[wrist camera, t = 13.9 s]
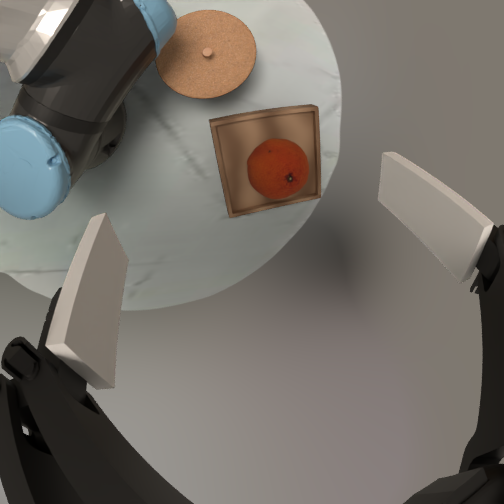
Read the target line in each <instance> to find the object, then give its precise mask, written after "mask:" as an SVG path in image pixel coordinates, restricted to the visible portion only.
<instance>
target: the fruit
mask: <svg viewBox="0 0 504 504" xmlns="http://www.w3.org/2000/svg"><path fill="white" fill-rule="evenodd" d="M247 172H248V179H249V182H250V184H251V185H252V187H253V188H254V189H255V190H256V191H257V192H258V193H260V194H261V195H263V196H265V197H267V198H270V199H282V198H286V197H288V196H290V195H293V194H295V193H296V192H298V191H299V190H300V189H301V188H303V186H304V185H305V184H306V182H307V180H308V174H309V163H308V159H307V156H306V154H305V152H304V151H303V150H302V148H301V147H300V146H298V145H297V144H296V143H294V142H292V141H290V140H287V139H268V140H266V141H264V142H263V143H261V144H260V145H259V146H257V147H256V148H255V149H254V150H253V152H252V153H251V155H250V156H249V158H248V160H247Z"/></svg>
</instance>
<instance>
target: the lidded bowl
mask: <svg viewBox="0 0 504 504" xmlns="http://www.w3.org/2000/svg"><path fill="white" fill-rule="evenodd" d="M255 60H256V44H255V40H254V37H253V35H252V33H251V31H250V30H249V29H248V27H247V26H246V25H245V24H244V23H243V22H242V21H241V20H239V19H238V18H236V17H235V16H233V15H230V14H228V13H225V12H222V11H216V10H201V11H196V12H192V13H189V14H186V15H184V16H182V17H180V18H179V19H177V26H176V30H175V33H174V34H173V36H172V37H171V38H170V39H169V40H168V42H167V43H166V44H165V45H164V47H163V48H162V49H161V51H160V54H159V56H158V57H157V58H156V59H155V62H156V67H157V70H158V73H159V75H160V76H161V78H162V80H163V81H164V82H165V83H166V84H167V85H168V86H169V87H170V88H171V89H172V90H174V91H176V92H177V93H179V94H182V95H184V96H187V97H191V98H198V99H209V98H214V97H218V96H222V95H225V94H227V93H229V92H231V91H232V90H234V89H236V88H237V87H238V86H239V85H241V84H242V83H243V82H244V81H245V80H246V78H247V77H248V76H249V74H250V73H251V71H252V69H253V66H254V64H255Z"/></svg>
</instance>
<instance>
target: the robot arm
mask: <svg viewBox="0 0 504 504" xmlns="http://www.w3.org/2000/svg"><path fill="white" fill-rule="evenodd" d="M176 26H177V18H176V15H175V12H174V10H173V9H172V7H171V6H170V4H169V3H168V2H167V0H0V62H4V63H5V64H6V65H7V68H8V71H9V74H10V77H11V79H12V81H13V82H16V83H21V84H23V85H22V88H21V90H20V92H19V94H18V96H17V99H16V101H15V103H14V106H13V108H12V111H11V113H10V115H9V116H8V117H5V118H4V119H2V120H1V121H0V207H1V208H2V209H3V210H4V211H6V212H7V213H9V214H11V215H12V216H15V217H17V218H20V219H26V220H34V219H36V218H42V217H45V216H47V215H48V214H50V213H51V212H52V211H53V210H54V209H55V208H56V207H57V206H58V205H59V204H60V203H62V202H63V201H64V199H65V198H66V197H67V195H68V193H69V191H70V189H71V188H72V187H73V185H74V184H75V183H76V181H77V180H78V179H79V178H80V176H81V175H82V174H83V173H84V171H85V170H87V169H91V168H94V167H96V166H98V165H100V164H102V163H103V162H104V161H106V160H107V159H108V158H109V157H110V156H111V155H112V154H113V153H114V151H115V150H116V149H117V147H118V146H119V144H120V142H121V141H122V138H123V136H124V133H125V128H126V111H125V107H124V104H123V100H124V98H125V97H126V95H127V94H128V92H129V91H130V90H131V88H132V87H133V85H134V84H135V83H136V81H137V80H138V79H139V77H140V76H141V75H142V73H143V72H144V71H145V69H146V68H147V67H148V66H149V64H150V63H151V62H152V61H153V60H155V59H156V58H157V57H158V56H159V54H160V51H161V49H162V48H163V47H164V45H165V44H166V43H167V42H168V40H169V39H170V38H171V37H172V36H173V34H174V33H175V30H176ZM378 201H380V203H382V204H383V205H384V206H385V207H386V208H387V209H388V210H389V211H390V212H391V213H393V214H394V215H395V216H396V217H397V218H398V219H399V220H400V221H401V222H402V223H403V224H404V225H405V226H406V227H407V228H408V229H410V231H411V232H412V233H413V234H414V235H415V236H416V237H417V238H418V239H419V240H420V241H421V242H422V243H423V244H424V245H425V246H426V247H427V248H428V249H429V250H430V251H431V252H432V253H433V254H434V255H435V256H436V257H437V258H438V260H440V262H441V263H442V264H443V265H444V266H445V267H446V268H447V269H448V271H449V272H450V273H451V274H452V275H453V276H454V277H455V279H456V280H457V281H458V282H459V283H462V282H464V281H466V280H468V279H469V278H470V277H471V275H472V273H473V271H474V269H475V267H477V269H478V270H479V273H478V275H477V277H476V279H475V280H474V283H473V284H472V286H471V288H470V292H473V290H474V288H475V286H478V288H477V290H476V291H475V293H476V294H479V299H480V309H481V322H482V342H483V343H482V345H483V364H482V387H481V399H480V408H479V416H478V424H477V428H476V432H475V434H474V435H473V437H472V438H471V439H470V441H469V442H468V444H467V446H466V448H465V451H464V454H463V458H462V463H461V466H460V470H459V473H458V474H456V475H453V476H449V477H445V478H439V479H437V480H436V481H434V482H433V483H431V484H430V485H428V486H427V487H425V488H424V489H422V490H421V491H419V492H417V493H415V494H414V495H413V496H412V497H410V498H409V499H408V500H407V501H406V502H405V503H403V504H504V464H499V462H500V461H501V459H502V458H503V457H504V225H500V226H499V228H497V227H496V226H495V225H494V223H493V222H492V221H490V220H489V219H488V218H487V217H486V216H485V215H483V214H482V213H481V212H480V211H479V210H477V209H476V208H475V207H474V206H473V205H471V204H470V203H469V202H468V201H466V200H465V199H464V198H462V197H461V196H460V195H458V194H457V193H456V192H454V191H453V190H452V189H450V188H449V187H448V186H446V185H445V184H443V183H442V182H440V181H439V180H438V179H436V178H435V177H433V176H432V175H430V174H429V173H427V172H426V171H424V170H423V169H421V168H420V167H418V166H417V165H415V164H414V163H412V162H410V161H409V160H407V159H405V158H404V157H402V156H400V155H399V154H397V153H395V152H384V153H382V165H381V176H380V186H379V194H378ZM128 261H129V260H128V258H127V256H126V254H125V252H124V250H123V248H122V246H121V244H120V242H119V240H118V238H117V235H116V233H115V231H114V229H113V227H112V225H111V223H110V220H109V218H108V216H107V214H106V213H103V214H100V215H97V216H94V217H91V220H90V222H89V224H88V226H87V228H86V230H85V232H84V235H83V237H82V239H81V241H80V244H79V246H78V248H77V251H76V253H75V255H74V258H73V260H72V263H71V265H70V268H69V271H68V273H67V276H66V279H65V281H64V284H63V287H61V288H59V289H58V291H57V292H56V294H55V295H54V297H53V298H52V301H51V304H50V307H49V312H48V313H47V316H46V321H45V323H44V326H43V330H42V333H41V337H40V341H39V345H38V349H35V348H34V347H33V346H32V345H31V344H30V343H29V342H28V341H27V340H26V339H25V338H24V337H17V338H15V339H13V340H12V341H11V342H10V343H9V344H8V345H7V347H6V348H5V351H4V353H3V356H2V361H1V365H2V369H4V370H5V371H6V372H7V373H8V374H9V375H11V376H12V377H13V379H11V380H9V379H8V378H6V377H5V376H4V375H3V374H0V478H1V482H2V485H3V488H4V491H5V494H6V497H7V500H8V503H9V504H193V503H192V502H191V501H189V500H188V499H187V498H186V497H184V496H183V495H182V494H181V493H180V492H179V491H178V490H176V489H175V488H174V487H173V486H172V485H171V484H169V483H168V482H167V481H166V480H165V479H164V478H163V477H162V476H161V475H160V474H159V473H158V472H157V471H155V470H154V469H153V468H152V467H151V466H150V465H149V464H148V463H147V462H146V461H145V460H144V459H143V458H142V456H140V454H139V453H138V452H137V451H136V450H135V449H134V448H133V447H132V446H131V445H130V443H129V442H128V441H127V440H126V439H125V438H124V437H123V436H122V434H121V433H120V432H119V431H118V430H117V429H116V427H115V426H114V425H113V423H112V422H111V421H110V420H109V418H108V417H107V416H106V415H105V413H104V412H103V411H102V409H101V408H100V407H99V405H98V404H97V403H96V401H95V400H94V398H93V397H92V396H91V395H90V394H89V393H88V392H87V391H86V385H87V383H89V384H90V385H91V386H93V387H94V388H95V389H109V388H114V387H115V366H116V352H117V351H116V350H117V340H118V329H119V320H120V312H121V304H122V297H123V290H124V284H125V278H126V272H127V266H128ZM22 426H24V427H26V428H27V429H28V431H29V435H26V434H24V433H23V429H22Z"/></svg>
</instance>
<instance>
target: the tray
mask: <svg viewBox="0 0 504 504" xmlns="http://www.w3.org/2000/svg"><path fill="white" fill-rule="evenodd" d="M209 123H210V128H211V133H212V138H213V143H214V148H215V153H216V158H217V163H218V168H219V173H220V177H221V182H222V187H223V192H224V197H225V201H226V206H227V211H228V214H229V217H230V218H232V217H237V216H241V215H245V214H249V213H254V212H258V211H262V210H267V209H271V208H276V207H280V206H285V205H289V204H294V203H298V202H303V201H308V200H313V199H317V198H321V159H320V129H319V110H318V107H317V106H315V105H312V104H309V105H298V106H289V107H280V108H272V109H265V110H258V111H252V112H246V113H240V114H235V115H229V116H224V117H219V118H215V119H210V120H209ZM268 139H287V140H290V141H292V142H294V143H296V144H297V145H298V146H300V147H301V148H302V150H303V151H304V152H305V154H306V156H307V159H308V163H309V174H308V180H307V182H306V184H305V185H304V186H303V188H301V189H300V190H299V191H298V192H296V193H295V194H293V195H290V196H288V197H286V198H282V199H270V198H267V197H265V196H263V195H261V194H260V193H258V192H257V191H256V190H255V189H254V188H253V187H252V185H251V184H250V182H249V179H248V172H247V160H248V158H249V156H250V155H251V153H252V152H253V150H254V149H255V148H256V147H257V146H259V145H260V144H261V143H263V142H264V141H266V140H268Z"/></svg>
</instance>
